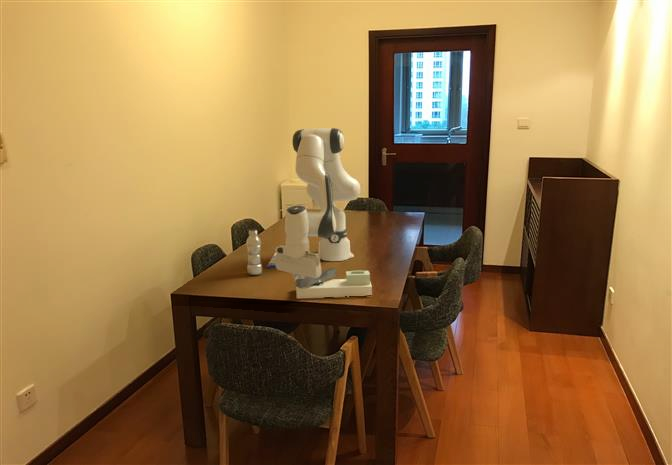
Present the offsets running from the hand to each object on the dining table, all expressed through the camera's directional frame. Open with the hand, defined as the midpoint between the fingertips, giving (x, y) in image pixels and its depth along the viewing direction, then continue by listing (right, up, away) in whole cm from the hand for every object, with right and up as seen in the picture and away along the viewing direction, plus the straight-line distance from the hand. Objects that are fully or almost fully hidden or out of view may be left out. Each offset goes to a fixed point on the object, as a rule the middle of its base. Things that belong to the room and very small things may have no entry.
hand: (298, 284), depth 205 cm
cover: (+23, 0, +6) cm, 24 cm away
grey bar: (+7, 0, +5) cm, 9 cm away
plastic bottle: (-21, +1, +31) cm, 38 cm away
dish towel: (-8, +5, +51) cm, 52 cm away
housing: (+13, -4, +7) cm, 15 cm away
